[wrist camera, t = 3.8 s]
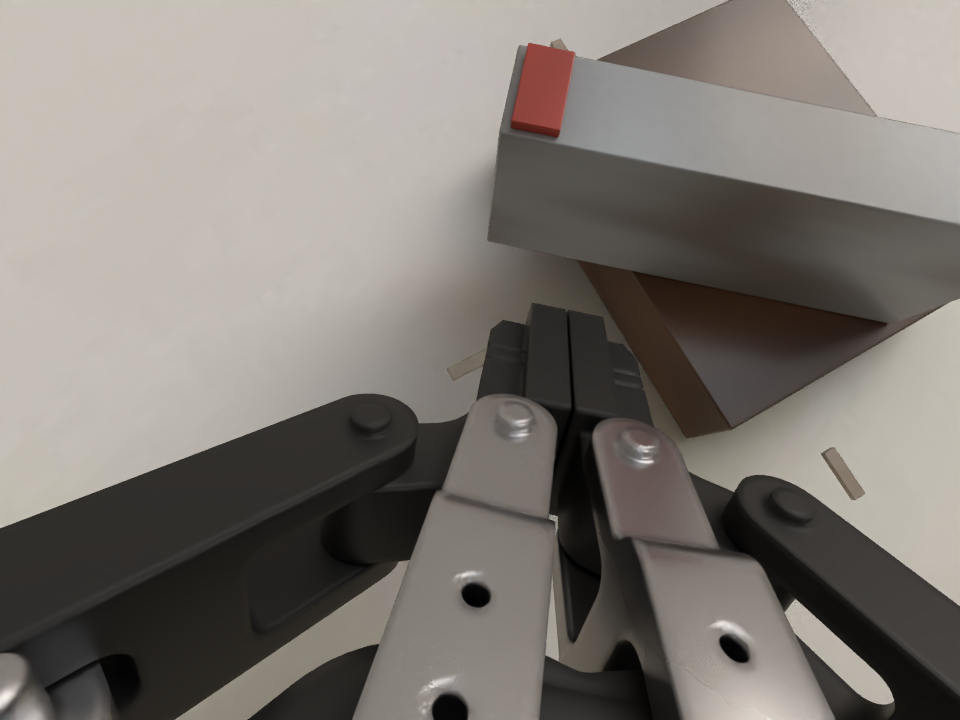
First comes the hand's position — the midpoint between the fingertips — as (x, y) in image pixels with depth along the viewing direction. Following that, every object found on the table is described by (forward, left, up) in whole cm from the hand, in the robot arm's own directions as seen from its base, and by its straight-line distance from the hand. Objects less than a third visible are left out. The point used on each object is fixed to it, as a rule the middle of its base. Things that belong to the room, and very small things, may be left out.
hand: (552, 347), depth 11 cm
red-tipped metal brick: (+1, -6, -3) cm, 7 cm away
